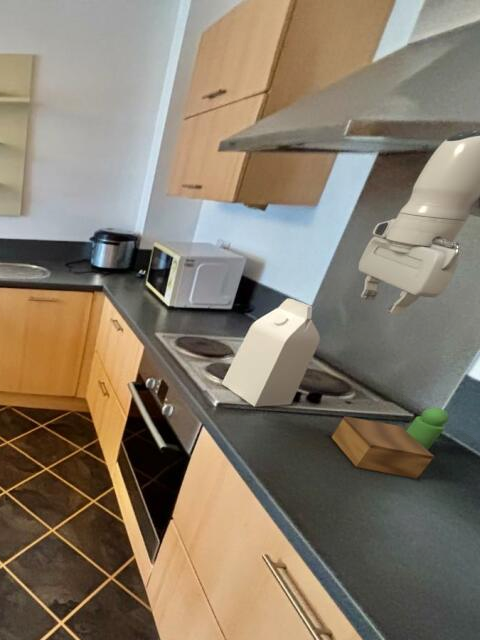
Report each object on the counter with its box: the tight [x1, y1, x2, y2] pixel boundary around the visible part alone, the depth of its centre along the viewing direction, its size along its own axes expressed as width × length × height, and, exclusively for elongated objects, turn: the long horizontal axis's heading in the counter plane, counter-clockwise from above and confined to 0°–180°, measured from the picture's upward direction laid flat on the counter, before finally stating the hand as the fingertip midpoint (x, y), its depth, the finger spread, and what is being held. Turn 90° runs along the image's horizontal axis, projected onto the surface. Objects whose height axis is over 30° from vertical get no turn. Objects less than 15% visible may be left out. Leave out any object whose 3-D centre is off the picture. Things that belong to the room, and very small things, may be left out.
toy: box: [405, 407, 450, 451], centre depth 93 cm, size 5×5×10 cm
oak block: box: [331, 416, 435, 479], centre depth 90 cm, size 11×11×6 cm
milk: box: [221, 298, 321, 408], centre depth 107 cm, size 12×12×26 cm
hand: (379, 306), depth 82 cm, fingers open, 8 cm apart
